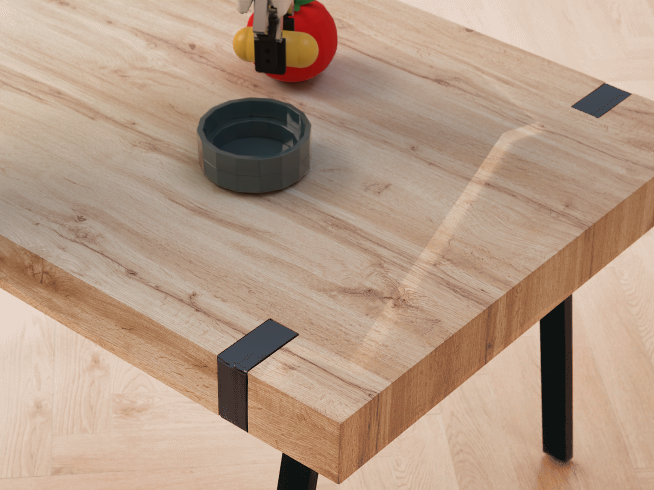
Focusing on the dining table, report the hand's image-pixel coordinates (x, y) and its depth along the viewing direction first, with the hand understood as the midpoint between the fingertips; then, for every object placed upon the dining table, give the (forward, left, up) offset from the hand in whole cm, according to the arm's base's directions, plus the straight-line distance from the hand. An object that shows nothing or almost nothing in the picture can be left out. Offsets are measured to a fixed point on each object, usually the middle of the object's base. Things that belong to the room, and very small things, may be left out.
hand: (275, 60), depth 113 cm
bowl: (+2, -9, -7) cm, 12 cm away
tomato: (-3, +8, -7) cm, 11 cm away
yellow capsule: (0, 0, 0) cm, 0 cm away
